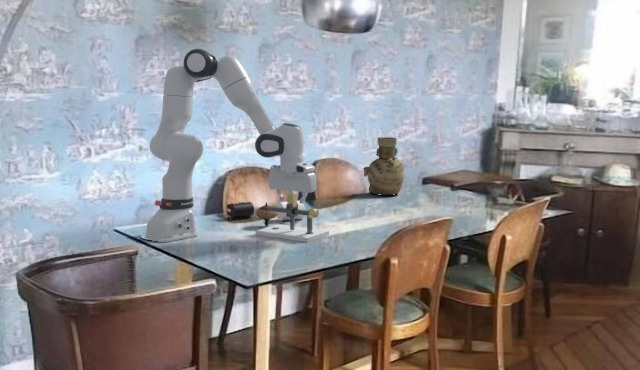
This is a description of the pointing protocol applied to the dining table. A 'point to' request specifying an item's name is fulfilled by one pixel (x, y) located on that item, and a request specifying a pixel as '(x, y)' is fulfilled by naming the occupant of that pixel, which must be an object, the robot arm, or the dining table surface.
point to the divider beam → (310, 214)
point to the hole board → (292, 233)
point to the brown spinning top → (265, 214)
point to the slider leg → (291, 208)
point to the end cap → (240, 210)
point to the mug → (282, 215)
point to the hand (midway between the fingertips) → (292, 202)
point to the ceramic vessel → (385, 169)
